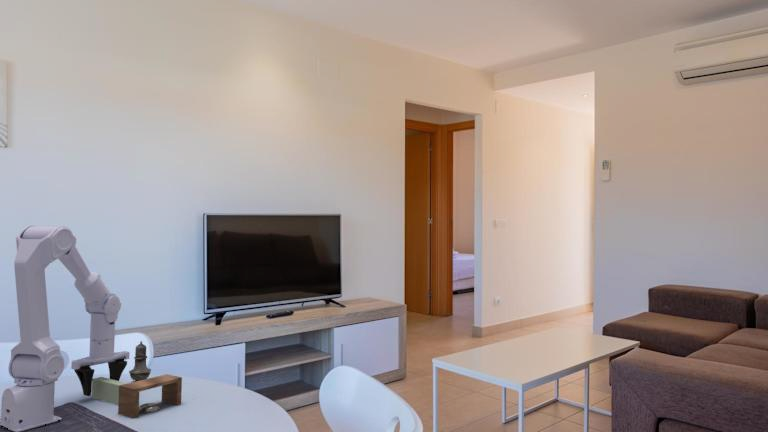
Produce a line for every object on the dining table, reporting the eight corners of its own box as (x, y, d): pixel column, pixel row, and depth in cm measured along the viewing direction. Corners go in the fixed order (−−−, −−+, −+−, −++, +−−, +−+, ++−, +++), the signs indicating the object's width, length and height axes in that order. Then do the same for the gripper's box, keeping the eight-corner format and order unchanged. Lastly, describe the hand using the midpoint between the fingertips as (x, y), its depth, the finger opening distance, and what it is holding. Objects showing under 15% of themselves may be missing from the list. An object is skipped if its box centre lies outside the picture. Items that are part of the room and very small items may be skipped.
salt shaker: (135, 387, 149) (136, 343, 150) (124, 383, 152) (125, 341, 153) (155, 383, 154) (156, 340, 154) (144, 379, 157) (145, 338, 158)
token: (147, 415, 126) (147, 409, 126) (135, 412, 128) (135, 406, 128) (163, 410, 130) (163, 404, 130) (151, 407, 132) (152, 401, 132)
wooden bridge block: (133, 418, 123) (134, 389, 123) (118, 413, 126) (119, 385, 126) (181, 404, 134) (181, 377, 134) (165, 400, 137) (166, 374, 138)
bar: (128, 408, 131) (129, 388, 131) (91, 398, 139) (92, 378, 139) (137, 406, 133) (138, 385, 133) (100, 396, 141) (101, 376, 141)
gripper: (119, 333, 148) (117, 383, 147) (65, 341, 136) (63, 396, 135) (134, 336, 144) (133, 387, 144) (81, 344, 132) (79, 400, 131)
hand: (100, 391), depth 139 cm, fingers open, 6 cm apart
